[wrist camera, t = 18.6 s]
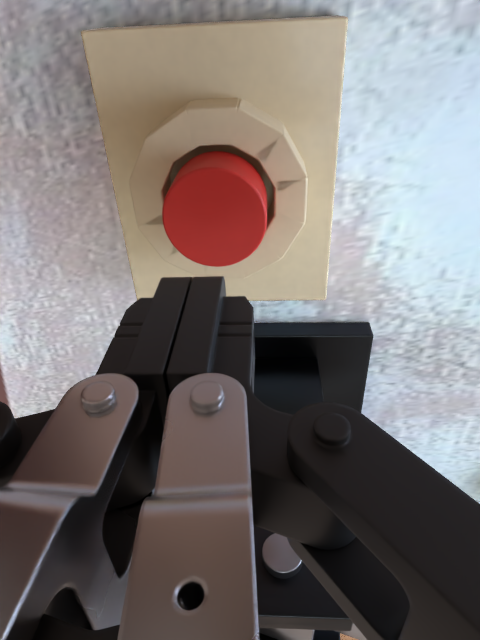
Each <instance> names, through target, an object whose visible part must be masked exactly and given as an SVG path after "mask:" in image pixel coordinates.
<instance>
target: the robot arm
mask: <svg viewBox="0 0 480 640" xmlns="http://www.w3.org/2000/svg"><path fill="white" fill-rule="evenodd" d="M254 373H255V343H254V315H253V307H252V305H251V304H250V303H249V301H248V300H247V298H246V297H245V296H226V287H225V279H224V276H207V277H193V278H192V277H162V278H161V279H160V282H159V284H158V287H157V289H156V292H155V294H154V297H153V298H140V299H138V300H137V301H136V302H135V303H134V304H133V305H131V306H130V307H129V308H128V309H127V310H126V312H125V314H124V316H123V318H122V320H121V322H120V326H119V327H118V329H117V331H116V333H115V338H113V339H112V341H111V344H110V346H109V348H108V350H107V352H106V354H105V356H104V358H103V361H102V363H101V365H100V367H99V369H98V371H97V373H96V375H95V376H92V377H89V378H86V379H84V380H82V381H80V382H78V383H77V384H75V385H74V386H73V387H71V388H70V389H69V390H68V391H67V392H66V394H65V395H64V396H63V398H62V399H61V401H60V402H59V404H58V406H57V407H56V409H53V410H49V411H46V412H41V413H37V414H33V415H29V416H24V417H20V418H16V419H15V418H14V416H13V414H12V412H11V410H10V408H9V407H8V406H7V405H6V404H4V403H2V402H0V640H260V639H259V621H258V602H257V583H256V564H255V545H254V526H253V525H255V526H257V527H260V528H263V529H265V530H268V531H271V532H274V533H276V534H279V535H282V536H284V537H287V539H288V542H289V544H290V546H291V548H292V549H293V550H294V552H295V553H296V554H297V555H298V557H299V558H300V559H301V560H302V561H303V563H304V564H305V565H306V566H307V568H308V569H309V570H310V571H311V572H312V574H313V575H314V576H315V577H316V578H317V580H318V581H319V582H320V583H321V585H322V586H323V587H324V588H325V589H326V591H327V592H328V593H329V594H330V595H331V597H332V598H333V599H334V600H335V601H336V603H337V604H338V605H339V606H340V608H341V609H342V610H343V611H344V612H345V614H346V615H347V616H348V617H349V618H350V620H351V621H352V622H353V623H354V624H355V626H356V627H357V628H358V629H359V631H360V632H361V633H362V634H363V635H364V637H365V638H366V639H367V640H480V504H479V503H478V502H476V501H475V500H474V499H472V498H471V497H470V496H469V495H467V494H466V493H465V492H463V491H462V490H461V489H459V488H458V487H457V486H455V485H454V484H453V483H452V482H450V481H449V480H448V479H446V478H445V477H444V476H442V475H441V474H440V473H439V472H437V471H436V470H435V469H433V468H432V467H431V466H429V465H428V464H427V463H425V462H424V461H423V460H422V459H420V458H419V457H418V456H416V455H415V454H414V453H412V452H411V451H410V450H409V449H407V448H406V447H405V446H403V445H402V444H401V443H399V442H398V441H397V440H395V439H394V438H393V437H392V436H390V435H389V434H388V433H386V432H385V431H384V430H382V429H381V428H380V427H379V426H377V425H376V424H375V423H373V422H372V421H371V420H369V419H368V418H367V417H365V416H364V415H363V414H362V413H360V412H359V411H357V410H356V409H353V408H351V407H349V406H347V405H344V404H340V403H335V402H319V403H313V404H310V405H307V406H305V407H303V408H301V409H300V410H299V411H297V412H296V413H295V414H294V415H292V414H288V413H284V412H281V411H278V410H275V409H272V408H270V407H268V406H267V405H265V404H263V403H262V402H261V401H260V400H259V399H258V398H257V397H256V396H255V395H254Z"/></svg>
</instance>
